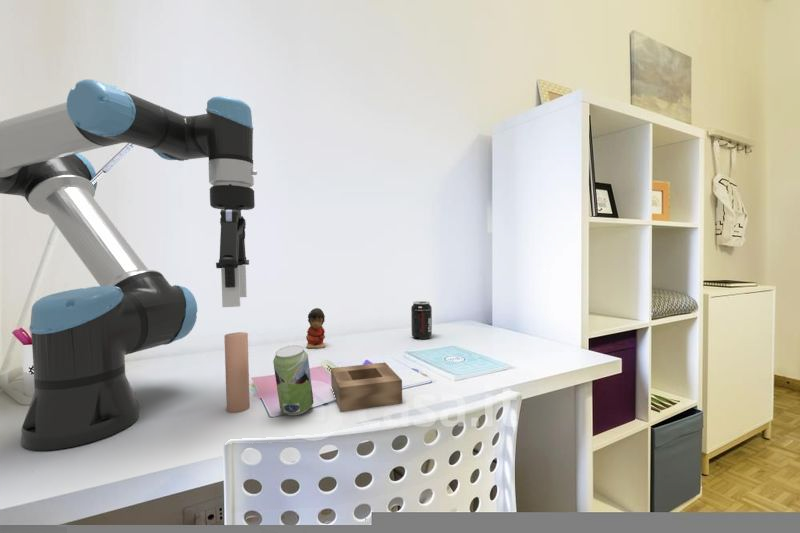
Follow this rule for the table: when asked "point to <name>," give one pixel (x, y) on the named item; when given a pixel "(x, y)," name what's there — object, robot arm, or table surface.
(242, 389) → the dowel
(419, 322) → the beverage can
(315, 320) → the figurine
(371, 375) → the socket block
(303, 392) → the beverage can
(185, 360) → the table surface
